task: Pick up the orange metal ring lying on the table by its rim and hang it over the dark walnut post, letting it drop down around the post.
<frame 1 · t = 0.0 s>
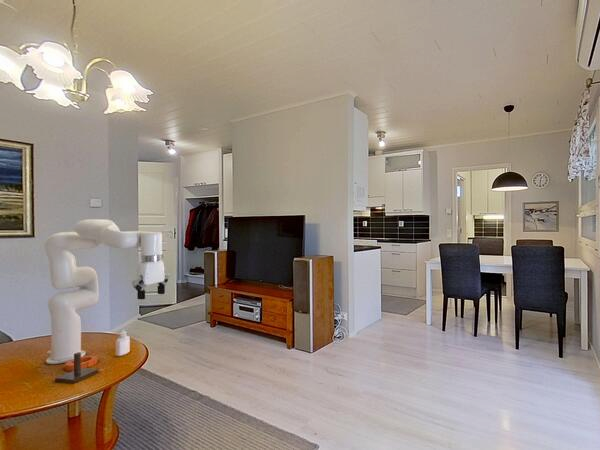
hand: (151, 296, 139), 31 cm above the table, tool pointing down, fingers open, 9 cm apart
post: (77, 377, 127), on the table
eye dropper bottle: (122, 354, 150), on the table
ring: (81, 365, 137), on the table
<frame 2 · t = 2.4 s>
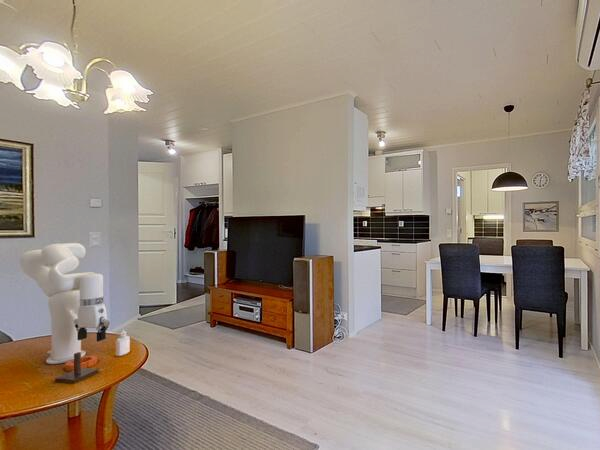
hand: (91, 339, 137), 12 cm above the table, tool pointing down, fingers open, 9 cm apart
nothing on the table moved.
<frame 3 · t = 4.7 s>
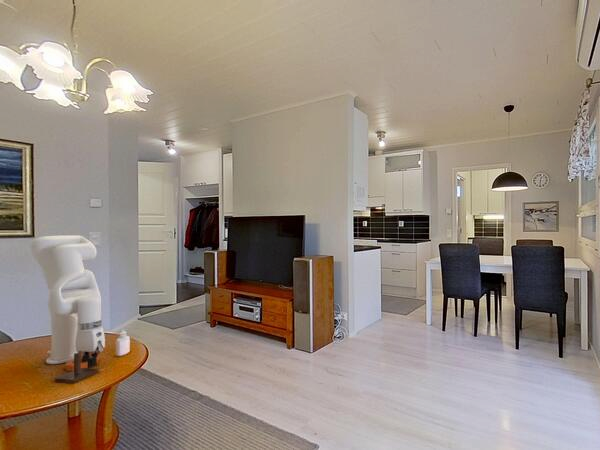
hand: (89, 365, 137), 0 cm above the table, tool pointing down, fingers closed on ring, 2 cm apart
ring: (82, 365, 137), on the table, touching gripper
everything else where it was.
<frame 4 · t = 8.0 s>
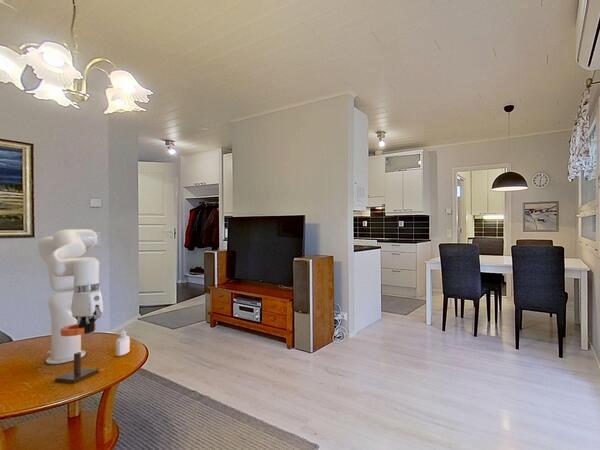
hand: (86, 332, 128), 19 cm above the table, tool pointing down, fingers closed on ring
ring: (78, 332, 128), point 18 cm above the table, touching gripper
everything else where it was.
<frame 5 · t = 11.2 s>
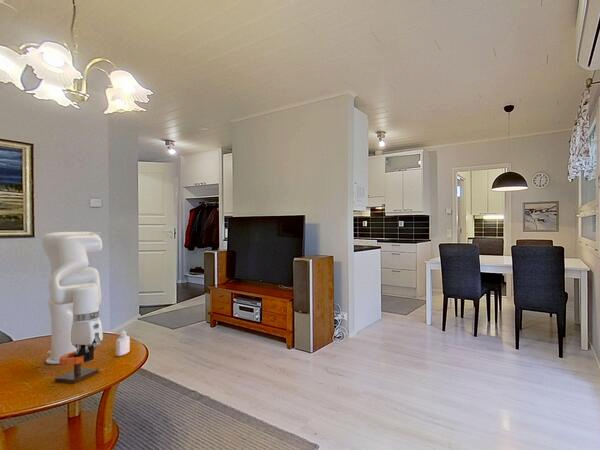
hand: (85, 360, 127), 7 cm above the table, tool pointing down, fingers closed on ring
ring: (77, 359, 127), point 7 cm above the table, touching gripper
everything else where it was.
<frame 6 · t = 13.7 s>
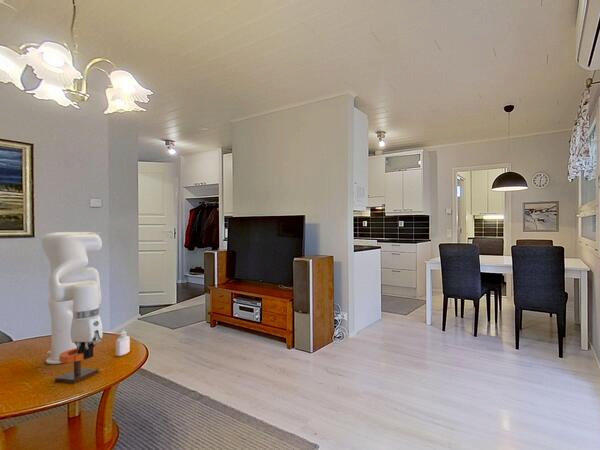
hand: (85, 357, 127), 8 cm above the table, tool pointing down, fingers closed on ring
ring: (77, 357, 127), point 8 cm above the table, touching gripper
everything else where it was.
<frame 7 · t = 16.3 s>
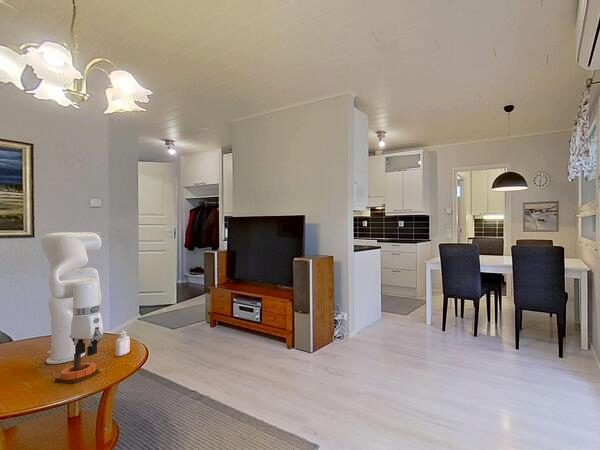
hand: (86, 353, 127), 10 cm above the table, tool pointing down, fingers open, 5 cm apart
ring: (78, 373, 127), point 1 cm above the table, touching post
everything else where it was.
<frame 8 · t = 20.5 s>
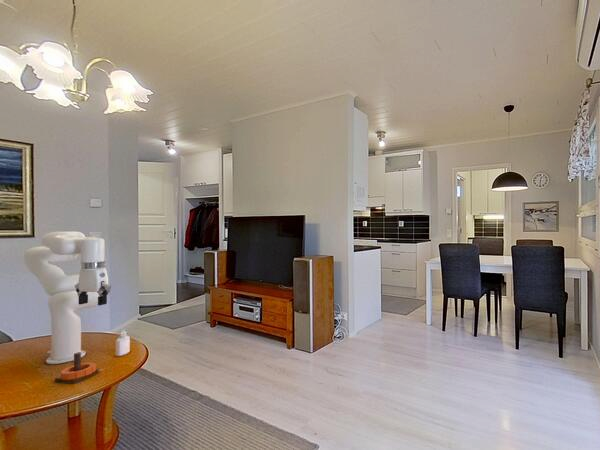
hand: (92, 304, 135), 28 cm above the table, tool pointing down, fingers open, 9 cm apart
nothing on the table moved.
at the end: ring 0.6 cm from the post (horizontally); ring point 1.5 cm above the table; the gripper is holding nothing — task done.
